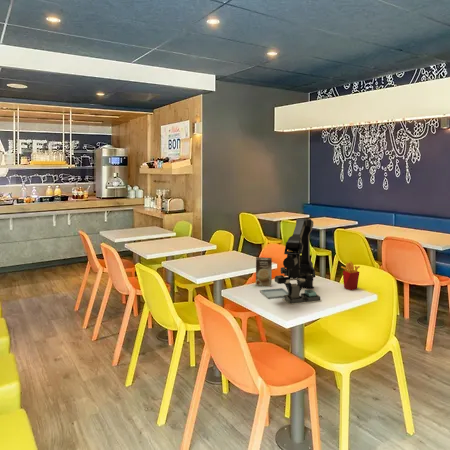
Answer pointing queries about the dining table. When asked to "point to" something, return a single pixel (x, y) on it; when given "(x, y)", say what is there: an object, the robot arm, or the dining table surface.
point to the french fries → (350, 276)
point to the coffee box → (263, 271)
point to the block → (295, 291)
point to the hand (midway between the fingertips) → (293, 294)
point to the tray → (274, 293)
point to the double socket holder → (303, 298)
